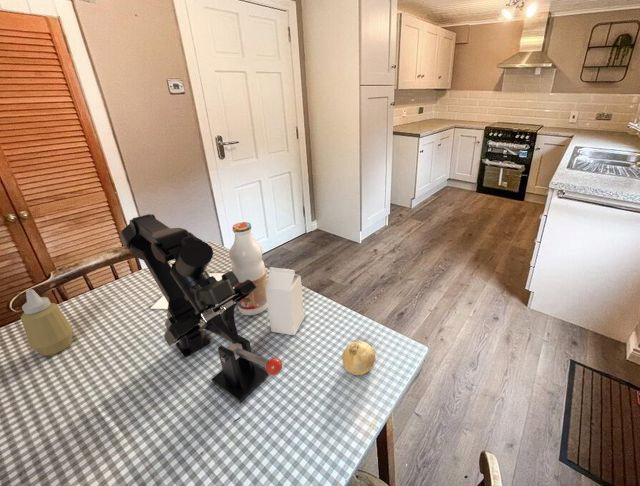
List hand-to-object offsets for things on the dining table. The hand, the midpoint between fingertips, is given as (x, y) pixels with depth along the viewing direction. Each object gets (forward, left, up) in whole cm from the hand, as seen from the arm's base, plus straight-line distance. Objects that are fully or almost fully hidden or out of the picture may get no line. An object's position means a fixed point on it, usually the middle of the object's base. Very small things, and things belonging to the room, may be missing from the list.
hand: (236, 342), depth 64 cm
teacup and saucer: (-47, +8, -14) cm, 49 cm away
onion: (+15, +21, -14) cm, 30 cm away
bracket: (-3, 0, -14) cm, 14 cm away
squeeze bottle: (-49, -27, -14) cm, 57 cm away
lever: (+4, +2, -5) cm, 6 cm away
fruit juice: (-25, +16, -14) cm, 33 cm away
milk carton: (-10, +18, -14) cm, 25 cm away
